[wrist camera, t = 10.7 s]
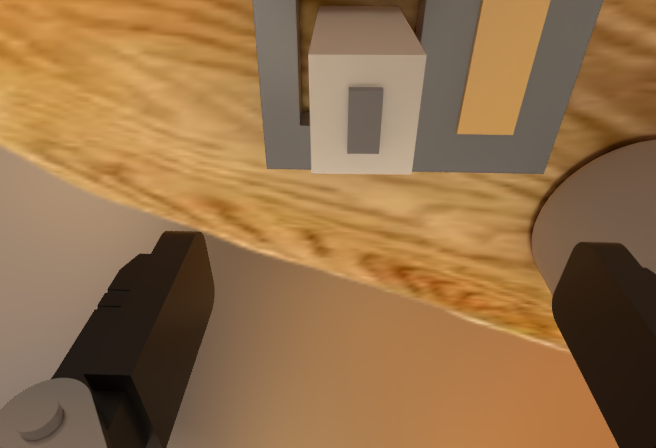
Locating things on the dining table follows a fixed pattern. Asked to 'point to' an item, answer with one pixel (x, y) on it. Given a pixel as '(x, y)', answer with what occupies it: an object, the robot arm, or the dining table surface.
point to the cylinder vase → (600, 210)
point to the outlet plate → (450, 82)
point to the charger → (364, 90)
